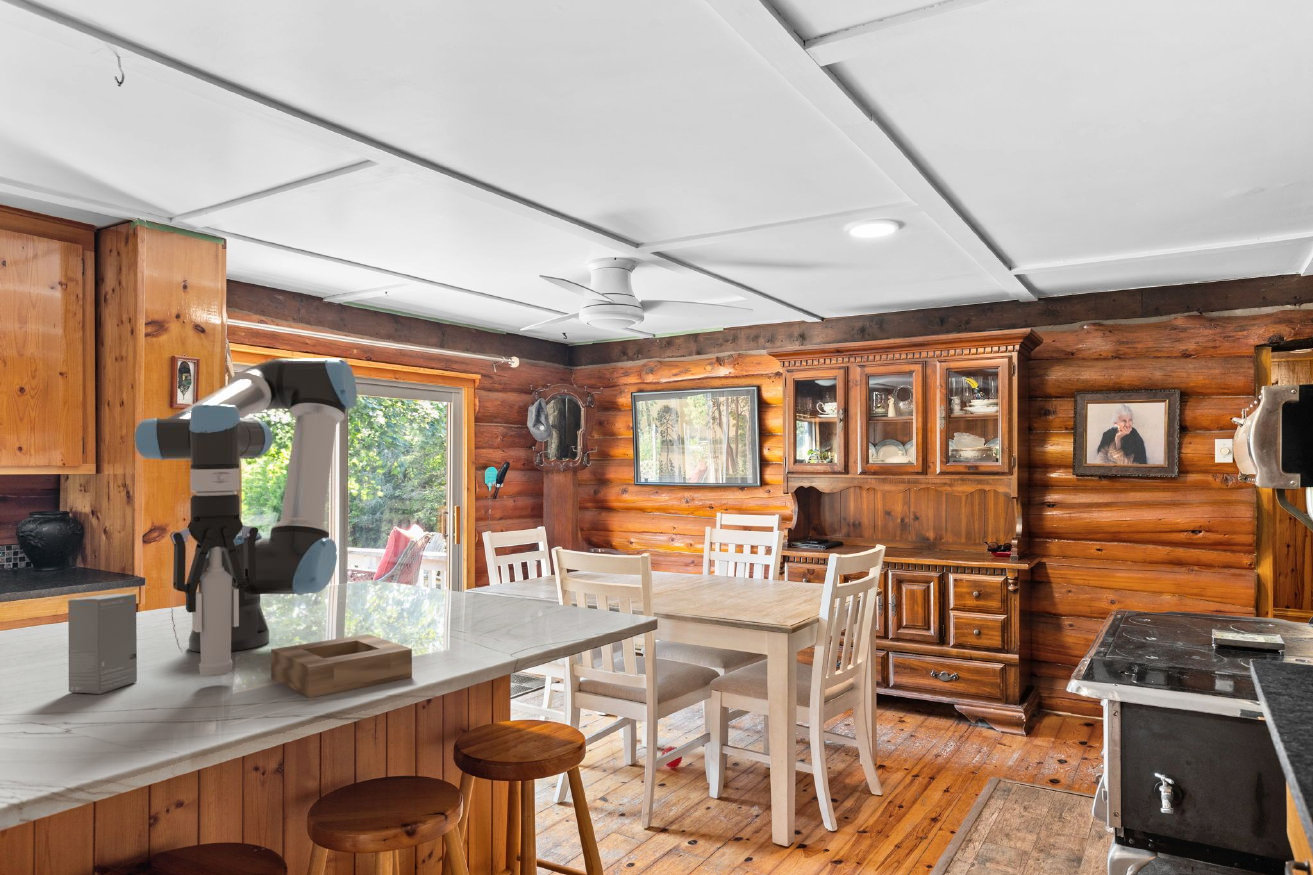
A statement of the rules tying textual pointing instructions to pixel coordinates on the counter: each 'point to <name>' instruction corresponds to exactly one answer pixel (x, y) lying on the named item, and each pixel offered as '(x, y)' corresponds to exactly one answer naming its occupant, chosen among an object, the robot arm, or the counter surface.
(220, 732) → the counter surface
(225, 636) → the bottle
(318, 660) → the frame
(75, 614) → the skincare box
